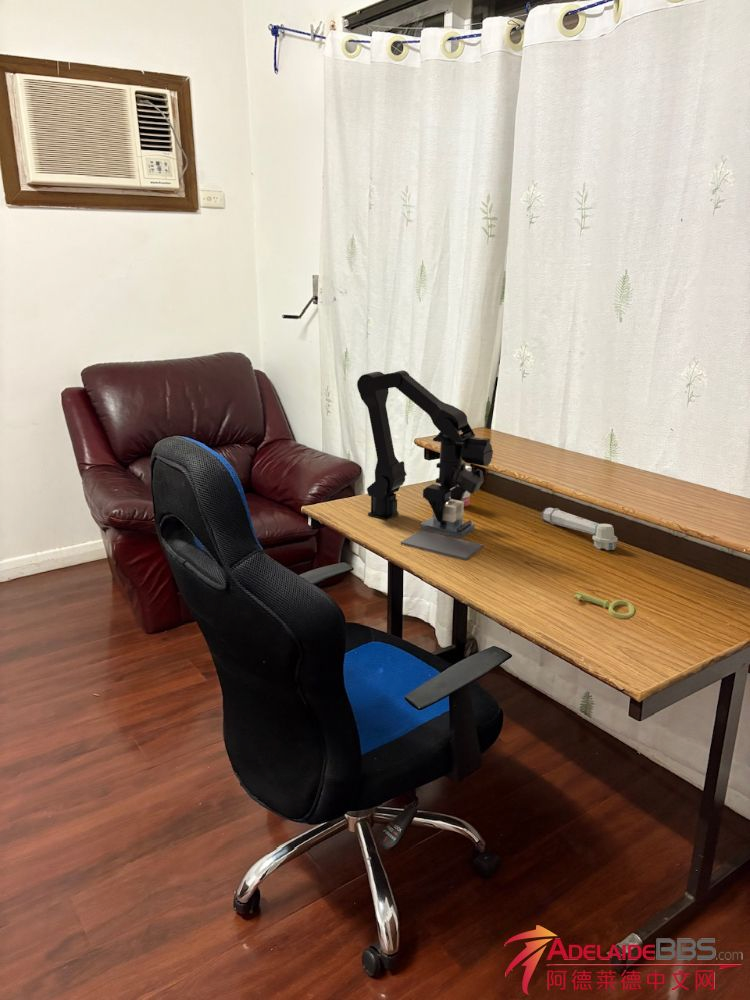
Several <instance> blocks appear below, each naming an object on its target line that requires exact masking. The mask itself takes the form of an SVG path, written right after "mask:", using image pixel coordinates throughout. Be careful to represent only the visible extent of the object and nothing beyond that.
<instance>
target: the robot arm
mask: <svg viewBox="0 0 750 1000" xmlns="http://www.w3.org/2000/svg"><path fill="white" fill-rule="evenodd" d="M356 386H357V387H356V388H357V390H358V391H357V392H358V393H359V396H360V398H361V401H363V403H364V405H365V406H366V408H367V410H368V416H369V421H370V426H371V432H372V438H373V442H374V447H375V452H376V459H377V460H376V465H375V469H374V482H372V484H369V486H368V487H367V488H366V491H367V495H368V497H370V512H368V513H367V516H370V517H375V518H379V519H382V520H389V519H391V518H392V517H394V516H396V515H398V514H399V511H398V499H397V494H396V492H399V490H400V487H401V486H403V484H404V483H405V481H406V476H408V474H407V472H406V470H405V469H406V468H405V461H404V460H401V461H399V460H398V458H397V457H396V455H395V451H394V450H395V449H394V444H393V438H392V437H393V436H392V432H391V428H390V421H389V415H388V410H387V401H388V397H389V389H393V388H396V390H399V392H401V393H402V394H403V395H405V396H406V397H407V399H409V400H410V401H411V402H413V403H414V404H415V405H416V406H418V408H420V409H421V410H422V411H424V412H425V413H426V414H427V415H428V416H429V417H430V420H431V421H432V424H433V425H434V427H435V428H437V429H438V431H439V432H438V434H437V435H436V436H435V437H433V438H432V441H433V442H438V443H440V447H439V448H440V449H439V450H440V452H439V462H438V463H436V469H439V471H438V477H437V478H435V484H434V483H432V484H430V485H428V486H426V487H425V488H424V489H423V490H422V498H423V499H425V500H426V501H428V504H429V505H430V508H431V509H432V513H433V512H434V514H435V516H436V518H437V520H438V522H442V520H443V515H444V510H445V504H446V503H447V502H448V501H450V500H451V499H454V500H458V501H462V498H463V496H464V493H465V492H466V491H467V492H469V493H470V495H471V494H474V493H475V492H478V491H479V490H480V487H481V485H482V484H483V483H484V482H485V480H484V472H483V470H481V469H479V468H477V469H476V470H474V471H473V470H471V471H467V470H466V466H467V465H466V463H467V464H471V465H477V466H481V467H482V466H483V467H488V466H489V465H490V464H491V462H492V460H493V454H494V450H493V446H492V444H491V443H490V442H491V440H490V438H487V437H485V438H480V437H476V434H475V433H474V431H473V429H472V427H471V425H470V424H469V422H468V421H469V420H468V416H467V414H466V413H465V411H463V410H461V409H459V408H457V407H456V406H454V405H451V404H449V403H445V402H443V401H442V400H440V399H439V398H438V397H436V396H435V395H434V394H433V393H431V392H430V391H429V390H428V389H427V388H425V386H423V384H421V383H420V382H419V381H418V380H416V379H415V378H413V377H412V376H411V375H410V374H409V372H408V371H406V370H398V371H394V372H391V373H390V372H389V373H383V372H382V371H373V372H369V373H366V374H365V373H364V374H361V376H359V378H358V380H357V382H356ZM460 433H461V434H460ZM439 483H440V485H439ZM441 485H442V486H441ZM449 498H451V499H449Z"/></svg>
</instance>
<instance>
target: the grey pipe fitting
mask: <svg viewBox="0 0 750 1000" xmlns="http://www.w3.org/2000/svg"><path fill="white" fill-rule="evenodd" d="M541 519H542V520H543V521H544V522H547V523H549V524H551V525H557V526H560V527H565V528H568V529H571V530H575V531H580V532H583V533H586V534H590V535H592V540H593V543H594V544H593V546H594V547H595V549H597V550H602V549H605V551H611V550H615V549H616V544H617V542H618V537H617V536H616V535H615V530H614V527H613V526H614V525H612V524H610V523H599V522H595V521H592V520H589V519H587V518H584V517H580V516H577V515H574V514H571V513H569V512H565V511H563V510H560V509H559V508H557V507H556V508H553V507H545V508H544V509H543V510H542V511H541Z"/></svg>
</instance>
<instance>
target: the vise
mask: <svg viewBox="0 0 750 1000" xmlns="http://www.w3.org/2000/svg"><path fill="white" fill-rule="evenodd" d="M446 504H448V505H453V502H450V501H448V502H447V503H446ZM475 525H476V524H475V523H472V520H471V519H470V520H467V521H463V516H462V517H461V518H459V519H458V520H456V521H455V522H449V521H444V520H442V522H438V520H437V519H435V518H433V516H431V517H429V518H428V519H426V520H424V521H422V522H421V523H420V529H419V530H422V531H426V532H431V533H435V534H439V535H443V536H448V537H452V538H456V539H460V540H463V538H465V536H467V535H469V534H470V533H472V532H473V531H474V530H475V527H476V526H475Z"/></svg>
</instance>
